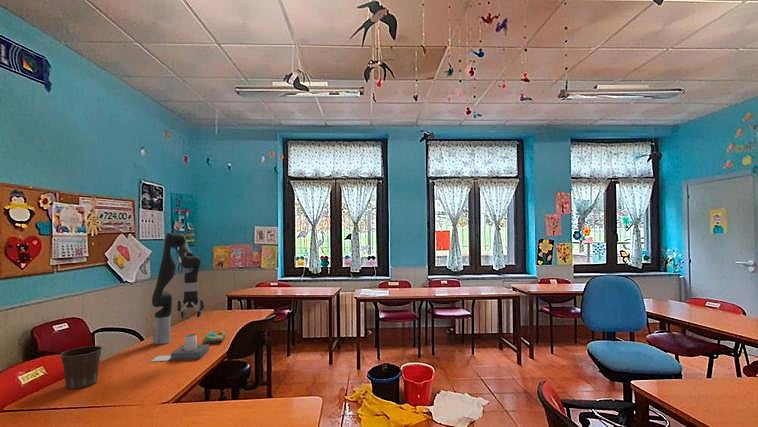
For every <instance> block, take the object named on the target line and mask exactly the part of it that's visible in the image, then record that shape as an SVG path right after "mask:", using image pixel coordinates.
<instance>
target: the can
mask: <svg viewBox="0 0 758 427" xmlns="http://www.w3.org/2000/svg"><path fill="white" fill-rule="evenodd" d="M197 338H198V337H197V335H196V333H189V334H186V335H185V336H184V345H185V347H184V351H193V350H196V349H197V345H198V344H197V343H198V342H197V341H198V340H197Z"/></svg>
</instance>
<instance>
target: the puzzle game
mask: <svg viewBox="0 0 758 427" xmlns="http://www.w3.org/2000/svg"><path fill="white" fill-rule="evenodd" d="M226 334H227V330H221V331H220V330H219V331H208V332H207V334H206V335H205V336H204V338H203V339H202V343H205V344H217V343H218V344H219V343H222V342H223V340H224V338H225V337H226Z"/></svg>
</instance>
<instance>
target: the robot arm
mask: <svg viewBox="0 0 758 427" xmlns="http://www.w3.org/2000/svg"><path fill="white" fill-rule="evenodd" d="M171 248H178V249H177V255H178V257H179V258H180V266H181V267H182V268H183V269H192V270H191V271H188V272H185V273H184V279H183V280H184V284H183V300H181V299H180V300H177V310H176V311H177V312H180V317H181V319H184V318H185V316H186V315H185V314H186V312H185V310H186V309H187V308H194V309H195V310H196V315H197V316H196V318H200V317H201V313H202V310H205V304H204V301H205V300H204V299H203V298H201V299H199V284H198V275H199V269H200V268H201V267H200V266H201V263H202V260H201V257H199V255H194V254H193V252H192V250H191V249H190V247H189V244H188V242H187V239H186V236H185V235H184V234H183V233H180V232H179V233H178V232H168V233H166V235H165V239H164V244H163V253H162V257H161V262H160V265H159V270H158V274H157V280H156V284H155V288H154V290H153V294H152V298H151V304H152V306H153V307H154V308H160V307H162V308H160V309H159V310H158V311H156V312H155V313H154V329H153V332H152V333H153V334H152V335H153V336H152V338H153V339H152V340H153V341H152V344H153V345H166V344H169V343H171V319H172V318H171V314H172V306H173V295H172V293H171V292H170V291H164V289H165V288H166V287H167V285H168V284H169V283H170V282H171V281H172V279H173V278H174V276H175V273H176V268H177V265H176V261H175V260H174V258H173V256H172V253H171V250H172V249H171ZM198 303H199V304H198ZM183 304H184V305H183ZM182 305H183V307H182Z"/></svg>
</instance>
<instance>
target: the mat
mask: <svg viewBox="0 0 758 427" xmlns="http://www.w3.org/2000/svg"><path fill="white" fill-rule="evenodd" d="M160 361H161V362H168V361H171V355H158V356H156V357H154V358H153V359H152V360H151V361H150V363H155V362H156V363H158V362H160Z"/></svg>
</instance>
